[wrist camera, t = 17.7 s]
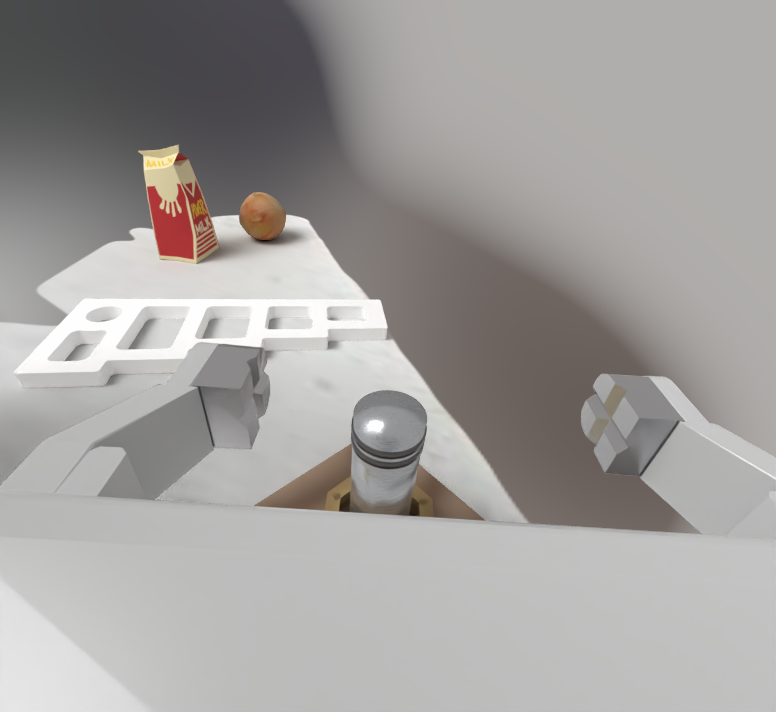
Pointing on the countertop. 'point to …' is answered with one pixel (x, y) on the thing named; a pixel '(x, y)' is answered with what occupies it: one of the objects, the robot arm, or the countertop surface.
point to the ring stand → (333, 484)
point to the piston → (385, 452)
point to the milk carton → (177, 207)
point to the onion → (262, 216)
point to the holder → (185, 334)
